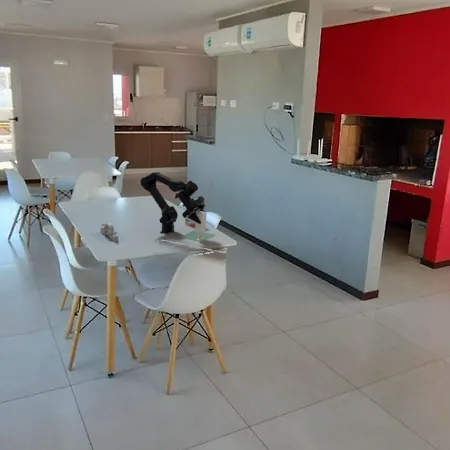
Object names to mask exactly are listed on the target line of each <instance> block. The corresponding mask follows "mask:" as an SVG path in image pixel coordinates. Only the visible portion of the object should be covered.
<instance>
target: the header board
mask: <svg viewBox="0 0 450 450" xmlns="http://www.w3.org/2000/svg"><path fill="white" fill-rule="evenodd" d="M214 236H216V234H213V233H208V232H205V231H204V232H203V233H197V232H195V230H192V231H190V232H187V233H185V234H184V235H183V234H182V236H179V238H180V239H187V240H192V241H197V242H200V243H201V242H202V243H204V242H206V241H207V240H209V239H211V238H213V237H214Z"/></svg>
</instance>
